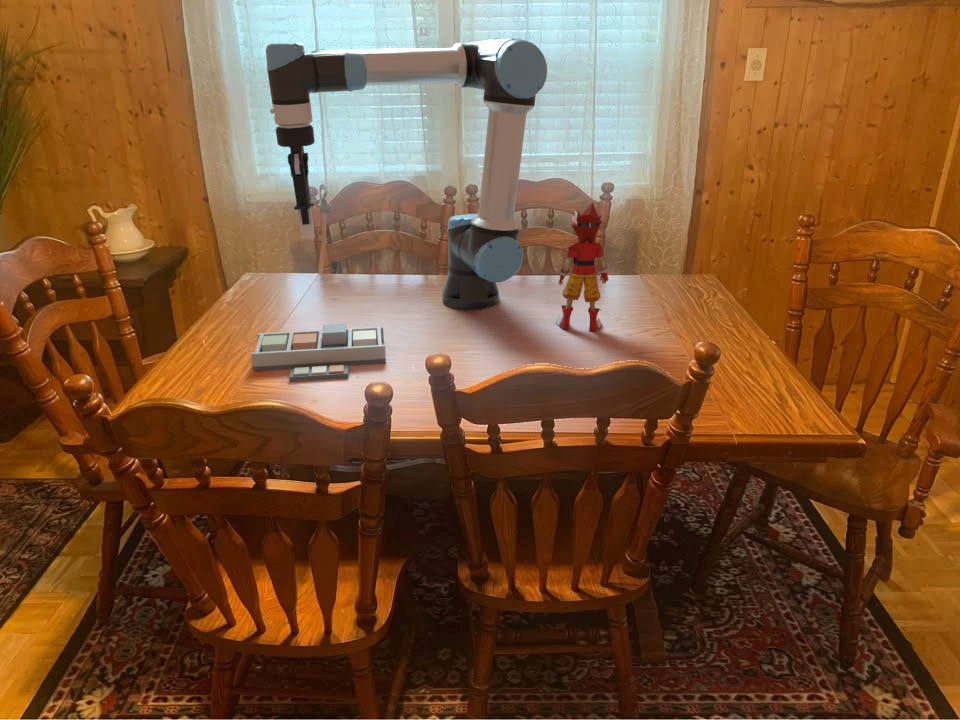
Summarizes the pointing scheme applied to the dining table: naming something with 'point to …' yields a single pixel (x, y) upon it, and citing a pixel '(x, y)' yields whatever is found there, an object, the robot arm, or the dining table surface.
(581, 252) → the toy
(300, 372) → the plaque
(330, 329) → the key slate
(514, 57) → the robot arm
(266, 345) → the key sage
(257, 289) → the dining table surface
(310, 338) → the key terracotta
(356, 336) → the key cream
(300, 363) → the grey base
